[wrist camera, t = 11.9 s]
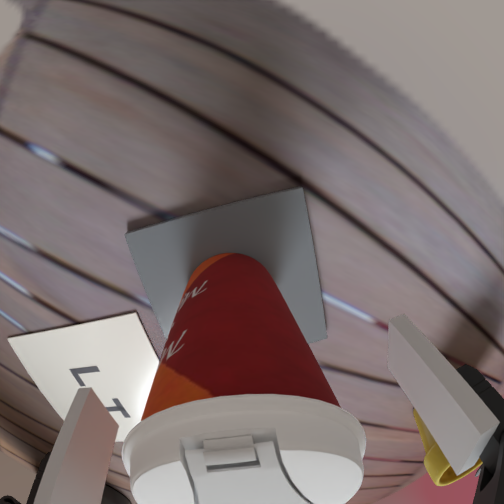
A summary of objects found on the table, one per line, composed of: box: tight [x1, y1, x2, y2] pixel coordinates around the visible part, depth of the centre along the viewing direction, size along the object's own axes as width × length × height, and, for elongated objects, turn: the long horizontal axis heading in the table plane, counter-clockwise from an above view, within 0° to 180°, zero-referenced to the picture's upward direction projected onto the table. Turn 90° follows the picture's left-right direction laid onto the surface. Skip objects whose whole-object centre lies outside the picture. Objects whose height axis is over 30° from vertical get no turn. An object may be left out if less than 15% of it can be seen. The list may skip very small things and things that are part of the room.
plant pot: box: [413, 408, 483, 486], centre depth 23 cm, size 10×10×10 cm
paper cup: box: [122, 253, 366, 504], centre depth 13 cm, size 8×8×14 cm
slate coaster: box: [125, 186, 327, 344], centre depth 20 cm, size 11×11×1 cm
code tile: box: [7, 312, 160, 441], centre depth 23 cm, size 14×14×1 cm
